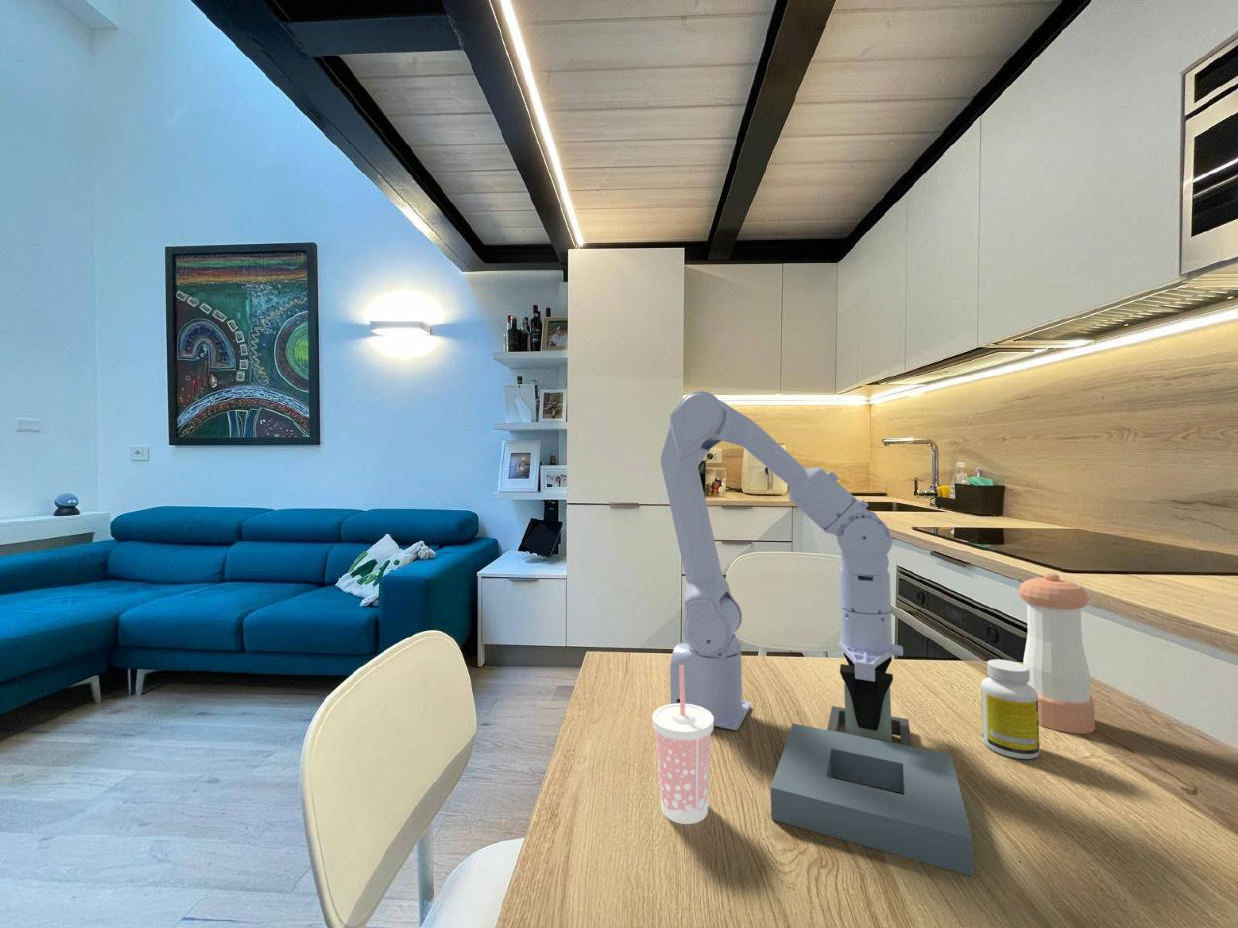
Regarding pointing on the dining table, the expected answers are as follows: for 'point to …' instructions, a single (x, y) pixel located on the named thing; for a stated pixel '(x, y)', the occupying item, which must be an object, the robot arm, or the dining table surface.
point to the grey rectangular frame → (896, 726)
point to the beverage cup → (683, 758)
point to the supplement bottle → (1010, 710)
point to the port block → (874, 796)
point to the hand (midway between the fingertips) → (868, 718)
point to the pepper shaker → (1058, 654)
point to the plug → (881, 733)
